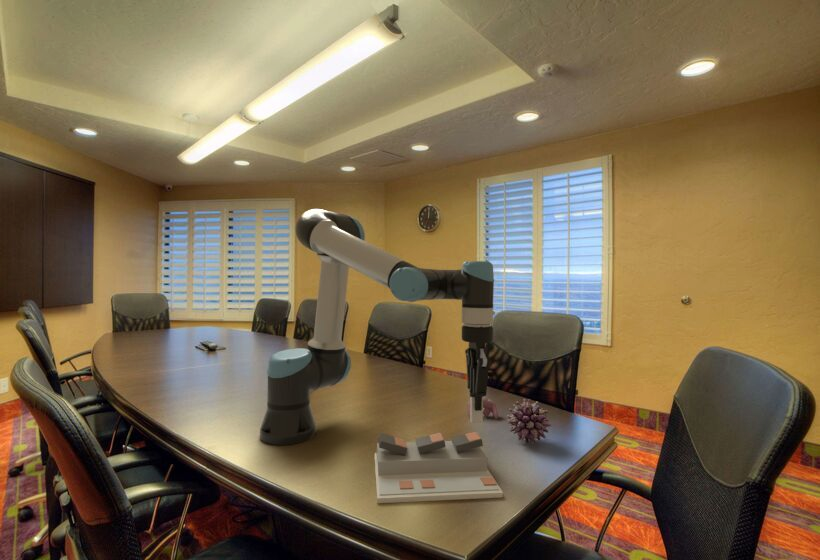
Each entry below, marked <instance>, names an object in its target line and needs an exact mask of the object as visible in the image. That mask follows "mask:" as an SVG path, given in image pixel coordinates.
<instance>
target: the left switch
mask: <svg viewBox="0 0 820 560" xmlns="http://www.w3.org/2000/svg"><path fill="white" fill-rule="evenodd" d="M377 441H378V443H379V448H382V449H385V450H389V451H392V452H395V453H398V454H402V455H406V452H407V445H406V442H407V441H406V439H403V438H399V437H396V436H393V435H389V434H386V433H382V432H380V433H379V436H378V440H377Z"/></svg>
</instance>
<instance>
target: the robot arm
mask: <svg viewBox="0 0 820 560" xmlns="http://www.w3.org/2000/svg"><path fill="white" fill-rule="evenodd" d="M295 236H296V238H297V240H298V241H299V243H300V244H301V245H302V246H304V247H305V248H307V249H309V250H311V251H312V252H314V253H316V256H317V258H318V259H319V260H320V262H321V263H320V270H319V271H320V273H319V279H318V281H319V282H318V290H317V301H316V302H317V303H316V310H315V311H316V312H315V322H314V329H313V337H312V339H310V340H308V342H307V348H302V347H301V348H299V347H298V348H296V347H295V348H291V349H289V348H288V349H284V350H280V351H278V352H275V353H274V354H272V355H271V356H270V357H269V360H268V366H267V370H266V371H267V372H266V374H267V396H266V397H267V398H266V399H267V400H266V401H267V403H266V406H267V407H266V411H265V413H264V417H263V420H262V422H261V426H260V428H259V439H260V440H261V441H262V442H264V443H266V444H268V445H269V444H270V445H274V446H284V445H294V444H299V443H302V442H306V441H307V440H309V439H311V438H313V437H314V436H315V435H316V432H317V431H316V427H317V425H316V421H315V418H314V414H313V410H312V408H311V392H315V391H316V390H321V389H324V388H328V387H333V386H335V385H337V384H339V383H342V382H343V381H345V379H346V378H347V377H348V376H349V373H350V370H351V368H352V367H351V366H352V360H351V359H352V358H351V356H349V355H350V353H349V352H348V350H347V349H346V347H347V346H346V344H345V343H344V342H343V340H342V337H343V328H344V319H345V318H344V317H345V307H346V299H347V291H348V290H347V289H348V281H349V271H350V268H352V269H353V270H355V271H356V272H359V273H360V274H362V275H364V276H366V277H367V278H369V279H371V280H373V281H375V282H377V283H378V284H380V285H382V286H384V287H386V288H388V289H390V292H391V293H392V296H393V297H394V298H395V299H397V300H399V301H402V302H408V303H409V302H410V303H413V302H420V301H430V300H431V301H432V300H433V301H434V300H456V301H457V300H458V301H459V300H460V301H461V323H462V324H463V325H462V326H461V340H462V341H463V342H466V343H468V347H467V348H465V350H464V353H465V361H466V380H467V389H468V391H469V398H470V399H469V401H470V418H469V421H470V423H471V424H483V421H484V420H483V417H484V415H483V410H484V408H483V398H484V397H486V396H487V392H488V391H487V390H488V379H489V370H490V366H491V358H490V357H488V350H487V346H486V344H487V343H491V342H493V340H494V327H493V326H492V325H493V324H494V316H495V314H496V312H495V311H494V289H495V288H494V286H495V285H494V284H495V283H494V282H495V278H494V266H493V264H492V263H491V262H490V261H487V260H486V261H485V260H484V261H483V260H469V261H468V260H467V261H464V262H463V263H462V267H461V269H460V268H459V269H437V268H436V269H434V268H433V269H432V268H423V267H421V268H420V267H418V266H416V265H414V264H411V262H407V261H405V260H404V259H401V258H400V257H398V256H396V255H394V254H391V253H390V252H388V251H385V250H384V249H381V248H380V247H377V246H375V245H374V244H371V243H369V242H367V241H365V239H366V236H365V229H364V226H363V225H362V224H361V222H360V220H358V219H357V218H356V217H353V216H351V215H348V214H345V213H339V212H335V211H330V210H329V211H328V210H324V209H320V208H312V209H309V210H307V211H304V212H303V213H302V214H301V215H300V216H299V217H298V219H297V220H296V223H295Z"/></svg>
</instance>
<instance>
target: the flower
mask: <svg viewBox="0 0 820 560" xmlns="http://www.w3.org/2000/svg"><path fill="white" fill-rule="evenodd" d="M515 403H516V404H512V406H513V409H512V408H510V407H509V408H508V411H509V412H510V413H511V414H507V416H506V417H507V418H508V419H507V424H510V425H511V428H510V429H509V432H511V433H513V435H515V434H517V436H518V438H517V441H521V440H524V439H525V440H524V441H525V443H528V442H529V441H530V444H531V445H533V444H535V439H537V440H538V441H541V438H543V439H545V438H547V436H546V435H545V433H547V434H548V433H549V430H548V429H547V428H548V427H551V426H552V424H551V423H548V422H549V421H550V419H549V418H548V417H547V414H548V413H549V411H548V410H547V409H545V410H544V408H543V407H542V408H540V407H541V405H540V404H539V401H535V403H532V401H531V399H525V398H523V402H522V403H520V402H519V401H516V402H515Z"/></svg>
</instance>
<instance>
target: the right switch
mask: <svg viewBox="0 0 820 560" xmlns="http://www.w3.org/2000/svg"><path fill="white" fill-rule="evenodd" d="M450 440H451V441H452V444H453V446H454V448H455V450H456V451H457V452H461V451H465V450H469V449H473V448H477V447H480V448H481V447H484V444H483V440H482V437H481V436H480V435H479V434H478V432H477V431H473V432H468V433H463V434H460V435H457V436H456V435H455V436H452V437H451V439H450Z"/></svg>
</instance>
